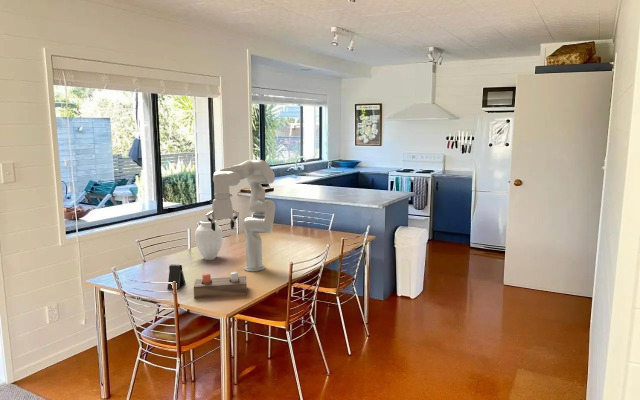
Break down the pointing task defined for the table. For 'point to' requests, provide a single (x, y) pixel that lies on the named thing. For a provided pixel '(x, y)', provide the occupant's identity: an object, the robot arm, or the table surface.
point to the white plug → (234, 276)
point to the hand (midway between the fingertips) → (223, 229)
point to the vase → (208, 239)
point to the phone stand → (176, 276)
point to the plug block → (220, 287)
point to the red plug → (206, 278)
